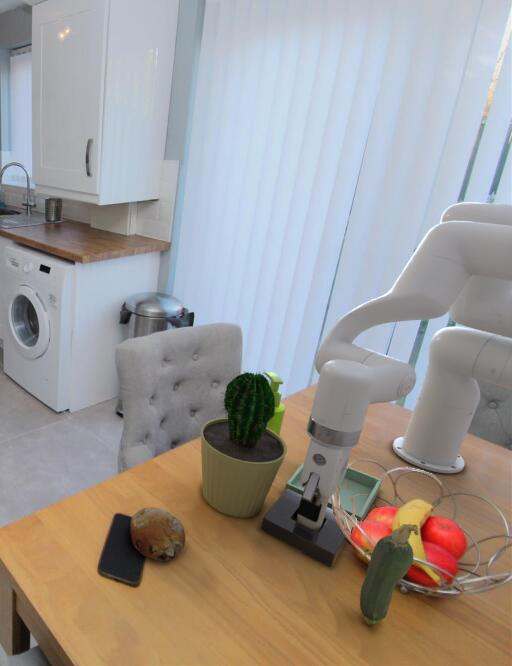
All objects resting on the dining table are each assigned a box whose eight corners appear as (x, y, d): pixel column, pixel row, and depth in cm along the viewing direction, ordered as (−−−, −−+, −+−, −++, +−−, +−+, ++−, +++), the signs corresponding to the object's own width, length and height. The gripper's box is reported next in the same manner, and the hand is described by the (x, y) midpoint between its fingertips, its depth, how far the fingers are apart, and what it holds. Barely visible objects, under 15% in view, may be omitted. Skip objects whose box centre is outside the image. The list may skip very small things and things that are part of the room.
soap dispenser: (266, 442, 117) (282, 370, 110) (279, 460, 111) (296, 385, 104) (241, 442, 118) (255, 369, 111) (252, 459, 112) (267, 384, 104)
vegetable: (346, 606, 77) (379, 509, 70) (371, 603, 78) (407, 506, 70) (368, 632, 73) (405, 532, 66) (395, 629, 74) (435, 529, 66)
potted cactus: (277, 489, 102) (306, 363, 91) (267, 537, 91) (299, 399, 79) (201, 464, 111) (220, 346, 99) (183, 505, 99) (202, 377, 88)
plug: (299, 516, 94) (309, 477, 91) (322, 527, 92) (333, 488, 88) (292, 527, 92) (301, 488, 88) (315, 539, 89) (326, 499, 86)
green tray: (308, 462, 110) (311, 451, 109) (378, 491, 101) (382, 479, 100) (283, 494, 101) (286, 483, 100) (357, 529, 92) (361, 517, 91)
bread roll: (181, 549, 93) (185, 507, 93) (185, 571, 83) (189, 524, 84) (129, 537, 96) (133, 497, 96) (126, 557, 86) (131, 512, 87)
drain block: (284, 499, 100) (287, 488, 98) (351, 531, 91) (355, 519, 90) (260, 529, 92) (263, 517, 91) (331, 567, 84) (334, 554, 83)
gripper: (343, 460, 76) (319, 547, 83) (372, 418, 86) (348, 498, 93) (291, 440, 81) (272, 523, 88) (325, 402, 91) (305, 480, 98)
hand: (312, 510), depth 90 cm, fingers closed on plug, 4 cm apart
